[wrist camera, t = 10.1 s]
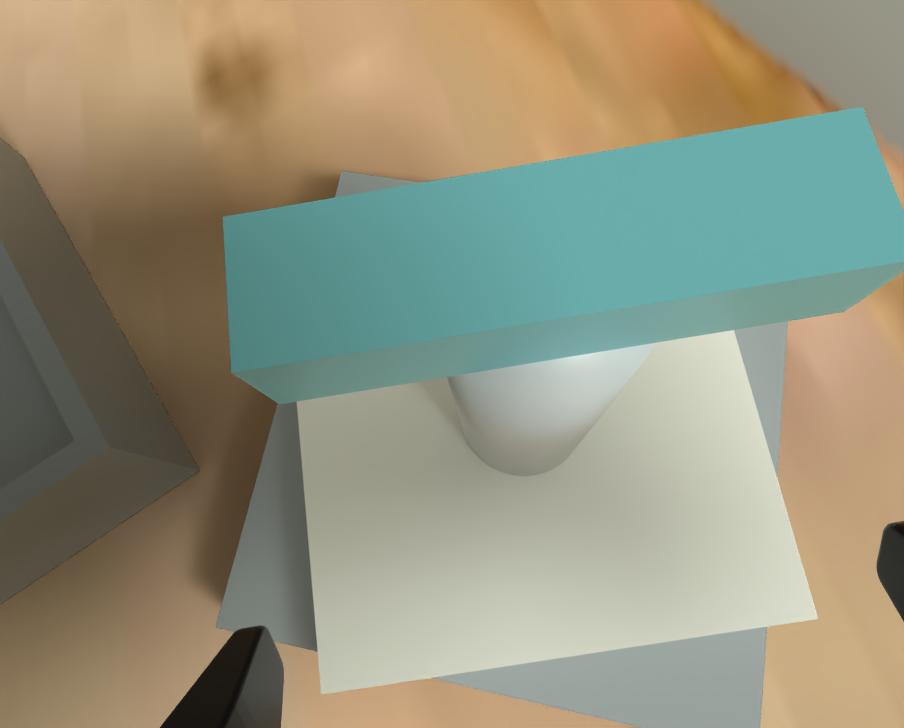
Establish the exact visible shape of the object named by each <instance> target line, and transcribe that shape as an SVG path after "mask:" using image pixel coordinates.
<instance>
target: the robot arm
mask: <svg viewBox="0 0 904 728" xmlns="http://www.w3.org/2000/svg"><path fill="white" fill-rule="evenodd" d="M877 573H878V577H879V579H880V581H881V583H882V585H883V587H884V589H885V590H886V592H887V594H888V595H889V597H890V599H891V601H892V602H893V604H894V606H895V607H896V609H897V611H898V613H899V614H900V616H901V618H902V619H903V621H904V521H901V522H894V523H890V524H888V525H887V526H886V527H885V528H884V531H883V535H882V540H881V545H880V549H879V554H878V559H877ZM283 685H284V669H283V663H282V660H281V658H280V655H279V653H278V650H277V648H276V646H275V643H274V641H273V639H272V636H271V634H270V632H269V630H268V628H267V627H265V626H262V625H259V626H253V627H247V628H241V629H239V630H237V631H236V632H235V633H233V635H232V636H231V637H230V638H229V640H228V641H227V642H226V644H225V645H224V646H223V647H222V649H221V650H220V651H219V652H218V654H217V655H216V656H215V658H214V659H213V660H212V661H211V663H210V664H209V665H208V667H207V668H206V669H205V670H204V672H203V673H202V674H201V676H200V677H199V678H198V679H197V681H196V682H195V683H194V685H193V686H192V687H191V688H190V690H189V691H188V692H187V694H186V695H185V696H184V697H183V699H182V700H181V701H180V702H179V704H178V705H177V706H176V708H175V709H174V710H173V711H172V713H171V714H170V715H169V717H168V718H167V719H166V720H165V722H164V723H163V724H162V726H161V727H160V728H281V716H282V701H283Z"/></svg>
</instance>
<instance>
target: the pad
mask: <svg viewBox="0 0 904 728" xmlns="http://www.w3.org/2000/svg"><path fill="white" fill-rule="evenodd" d="M416 183H422V182H415V181H408V180H401V179H394V178H387V177H380V176H373V175H366V174H359V173H352V172H345V171H342V173H341V176H340V180H339V183H338V187H337V191H336V194H335V197H341V196H347V195H352V194H358V193H364V192H370V191H376V190H381V189H387V188H393V187H399V186H405V185H411V184H416ZM787 327H788V321H785V322H779V323H773V324H767V325H761V326H755V327H749V328H743V329H737V330H734V332H735V336H736V339H737V342H738V346H739V349H740V353H741V356H742V360H743V363H744V366H745V370H746V373H747V377H748V380H749V384H750V387H751V390H752V394H753V397H754V401H755V404H756V408H757V411H758V414H759V418H760V421H761V425H762V428H763V432H764V435H765V438H766V442H767V445H768V449H769V452H770V455H771V459H772V462H773V466H774V469H775V473H776V476H777V474H778V459H779V445H780V430H781V415H782V401H783V386H784V371H785V357H786V342H787ZM259 625H262V626H265V627H267V628H268V630H269V632H270V634H271V636H272V639H273V641H276V642H280V643H284V644H288V645H292V646H297V647H301V648H305V649H309V650H314V651H318V650H317V638H316V626H315V614H314V602H313V590H312V578H311V566H310V554H309V543H308V531H307V519H306V507H305V495H304V483H303V471H302V459H301V447H300V435H299V423H298V412H297V402H291V403H285V404H278V403H277V407H276V411H275V414H274V418H273V421H272V425H271V429H270V432H269V436H268V440H267V443H266V447H265V450H264V454H263V458H262V461H261V465H260V468H259V472H258V476H257V479H256V483H255V486H254V490H253V494H252V497H251V501H250V504H249V508H248V512H247V515H246V519H245V523H244V526H243V530H242V533H241V537H240V541H239V544H238V548H237V551H236V555H235V559H234V562H233V566H232V569H231V573H230V577H229V580H228V584H227V587H226V591H225V595H224V598H223V602H222V605H221V609H220V613H219V616H218V620H217V624H216V628H220V629H225V630H229V631H233V632H236V631H237V630H239V629H241V628H247V627H253V626H259ZM766 635H767V627H761V628H755V629H748V630H741V631H735V632H728V633H722V634H715V635H709V636H702V637H696V638H689V639H682V640H676V641H669V642H663V643H656V644H650V645H643V646H637V647H630V648H623V649H617V650H610V651H604V652H597V653H591V654H584V655H578V656H571V657H564V658H558V659H551V660H545V661H538V662H532V663H525V664H518V665H512V666H505V667H499V668H492V669H486V670H479V671H473V672H466V673H459V674H453V675H446V676H440V677H433V678H432V679H437V680H441V681H445V682H449V683H454V684H458V685H462V686H466V687H470V688H475V689H479V690H483V691H487V692H492V693H496V694H500V695H504V696H509V697H513V698H517V699H521V700H526V701H530V702H534V703H538V704H542V705H547V706H551V707H555V708H559V709H564V710H568V711H572V712H576V713H581V714H585V715H589V716H593V717H598V718H602V719H606V720H610V721H615V722H619V723H623V724H627V725H631V726H636V727H640V728H760V723H761V709H762V694H763V679H764V665H765V650H766Z"/></svg>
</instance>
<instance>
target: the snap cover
mask: <svg viewBox="0 0 904 728" xmlns="http://www.w3.org/2000/svg"><path fill="white" fill-rule="evenodd" d="M223 233H224V251H225V269H226V287H227V305H228V324H229V342H230V360H231V373H232V374H233V375H235V376H236V377H238V378H240V379H241V380H243V381H244V382H246V383H247V384H249V385H250V386H252V387H253V388H255V389H256V390H258V391H259V392H261V393H263V394H264V395H266V396H267V397H269V398H270V399H272V400H273V401H275V402H276V403H278V404H285V403H291V402H297V412H298V423H299V435H300V447H301V459H302V471H303V483H304V495H305V507H306V519H307V531H308V543H309V554H310V566H311V578H312V590H313V602H314V614H315V626H316V638H317V650H318V662H319V674H320V685H321V695H322V694H328V693H335V692H341V691H348V690H355V689H361V688H368V687H374V686H381V685H387V684H394V683H400V682H407V681H414V680H420V679H427V678H433V677H440V676H446V675H453V674H459V673H466V672H473V671H479V670H486V669H492V668H499V667H505V666H512V665H518V664H525V663H532V662H538V661H545V660H551V659H558V658H564V657H571V656H578V655H584V654H591V653H597V652H604V651H610V650H617V649H623V648H630V647H637V646H643V645H650V644H656V643H663V642H669V641H676V640H682V639H689V638H696V637H702V636H709V635H715V634H722V633H728V632H735V631H741V630H748V629H755V628H761V627H768V626H774V625H781V624H787V623H794V622H800V621H807V620H814V619H818V617H817V613H816V610H815V606H814V603H813V599H812V596H811V593H810V589H809V586H808V582H807V579H806V575H805V572H804V569H803V565H802V562H801V558H800V555H799V551H798V548H797V545H796V541H795V538H794V534H793V531H792V527H791V524H790V521H789V517H788V514H787V510H786V507H785V503H784V500H783V497H782V493H781V490H780V486H779V483H778V479H777V476H776V473H775V469H774V466H773V462H772V459H771V455H770V452H769V449H768V445H767V442H766V438H765V435H764V432H763V428H762V425H761V421H760V418H759V414H758V411H757V408H756V404H755V401H754V397H753V394H752V390H751V387H750V384H749V380H748V377H747V373H746V370H745V366H744V363H743V360H742V356H741V353H740V349H739V346H738V342H737V339H736V336H735V332H734V330H737V329H743V328H749V327H755V326H761V325H767V324H773V323H779V322H785V321H791V320H797V319H804V318H810V317H816V316H822V315H828V314H834V313H840V312H844V311H846V310H847V309H849V308H850V307H852V306H853V305H855V304H856V303H858V302H859V301H861V300H862V299H864V298H865V297H867V296H868V295H869V294H871V293H872V292H874V291H875V290H877V289H878V288H880V287H881V286H883V285H884V284H886V283H887V282H889V281H890V280H892V279H893V278H894V277H896V276H897V275H899V274H900V273H902V272H903V271H904V211H903V209H902V206H901V204H900V201H899V199H898V196H897V194H896V191H895V188H894V186H893V183H892V181H891V178H890V176H889V173H888V171H887V168H886V166H885V163H884V161H883V158H882V155H881V153H880V150H879V148H878V145H877V143H876V140H875V138H874V135H873V133H872V130H871V127H870V125H869V122H868V120H867V117H866V115H865V112H864V110H863V107H859V108H854V109H847V110H842V111H836V112H830V113H824V114H818V115H813V116H807V117H801V118H795V119H789V120H783V121H778V122H772V123H766V124H760V125H754V126H748V127H743V128H737V129H731V130H725V131H719V132H714V133H708V134H702V135H696V136H690V137H684V138H679V139H673V140H667V141H661V142H655V143H649V144H644V145H638V146H632V147H626V148H620V149H614V150H609V151H603V152H597V153H591V154H585V155H580V156H574V157H568V158H562V159H556V160H550V161H545V162H539V163H533V164H527V165H521V166H515V167H510V168H504V169H498V170H492V171H486V172H481V173H475V174H469V175H463V176H457V177H451V178H446V179H440V180H434V181H428V182H422V183H416V184H411V185H405V186H399V187H393V188H387V189H381V190H376V191H370V192H364V193H358V194H352V195H347V196H341V197H335V198H329V199H323V200H317V201H312V202H306V203H300V204H294V205H288V206H282V207H277V208H271V209H265V210H259V211H253V212H248V213H242V214H236V215H230V216H224V217H223Z"/></svg>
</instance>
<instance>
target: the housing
mask: <svg viewBox="0 0 904 728" xmlns="http://www.w3.org/2000/svg"><path fill="white" fill-rule="evenodd" d="M198 471H199V468H198V466H197V465H196V463H195V461H194V459H193V458H192V456H191V454H190V452H189V450H188V449H187V447H186V445H185V443H184V442H183V440H182V438H181V436H180V434H179V433H178V431H177V429H176V427H175V426H174V424H173V422H172V420H171V418H170V417H169V415H168V413H167V411H166V410H165V408H164V406H163V404H162V402H161V401H160V399H159V397H158V395H157V393H156V392H155V390H154V388H153V386H152V385H151V383H150V381H149V379H148V377H147V376H146V374H145V372H144V370H143V369H142V367H141V365H140V363H139V361H138V360H137V358H136V356H135V354H134V353H133V351H132V349H131V347H130V345H129V344H128V342H127V340H126V338H125V337H124V335H123V333H122V331H121V329H120V328H119V326H118V324H117V322H116V320H115V319H114V317H113V315H112V313H111V312H110V310H109V308H108V306H107V304H106V303H105V301H104V299H103V297H102V296H101V294H100V292H99V290H98V288H97V287H96V285H95V283H94V281H93V280H92V278H91V276H90V274H89V272H88V271H87V269H86V267H85V265H84V263H83V262H82V260H81V258H80V256H79V255H78V253H77V251H76V249H75V247H74V246H73V244H72V242H71V240H70V239H69V237H68V235H67V233H66V231H65V230H64V228H63V226H62V224H61V223H60V221H59V219H58V217H57V215H56V214H55V212H54V210H53V208H52V207H51V205H50V203H49V201H48V199H47V198H46V196H45V194H44V192H43V190H42V189H41V187H40V185H39V183H38V182H37V180H36V178H35V176H34V174H33V173H32V171H31V169H30V167H29V166H28V164H27V162H26V160H25V158H24V157H23V156H22V155H20V154H19V153H18V152H17V151H16V150H14V149H13V148H12V147H11V146H10V145H8V144H7V143H6V142H5V141H3V140H2V139H1V138H0V604H1V603H3V602H4V601H6V600H7V599H9V598H10V597H12V596H13V595H15V594H16V593H18V592H19V591H21V590H22V589H24V588H25V587H27V586H28V585H30V584H31V583H33V582H34V581H36V580H37V579H39V578H40V577H42V576H43V575H45V574H46V573H48V572H49V571H51V570H52V569H54V568H55V567H57V566H58V565H59V564H61V563H62V562H64V561H65V560H67V559H68V558H70V557H71V556H73V555H74V554H76V553H77V552H79V551H80V550H82V549H83V548H85V547H86V546H88V545H89V544H91V543H92V542H94V541H95V540H97V539H98V538H100V537H101V536H103V535H104V534H106V533H107V532H109V531H110V530H112V529H113V528H115V527H116V526H118V525H119V524H121V523H122V522H124V521H125V520H126V519H128V518H129V517H131V516H132V515H134V514H135V513H137V512H138V511H140V510H141V509H143V508H144V507H146V506H147V505H149V504H150V503H152V502H153V501H155V500H156V499H158V498H159V497H161V496H162V495H164V494H165V493H167V492H168V491H170V490H171V489H173V488H174V487H176V486H177V485H179V484H180V483H182V482H183V481H185V480H186V479H188V478H189V477H190V476H192V475H193V474H195V473H196V472H198Z"/></svg>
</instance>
